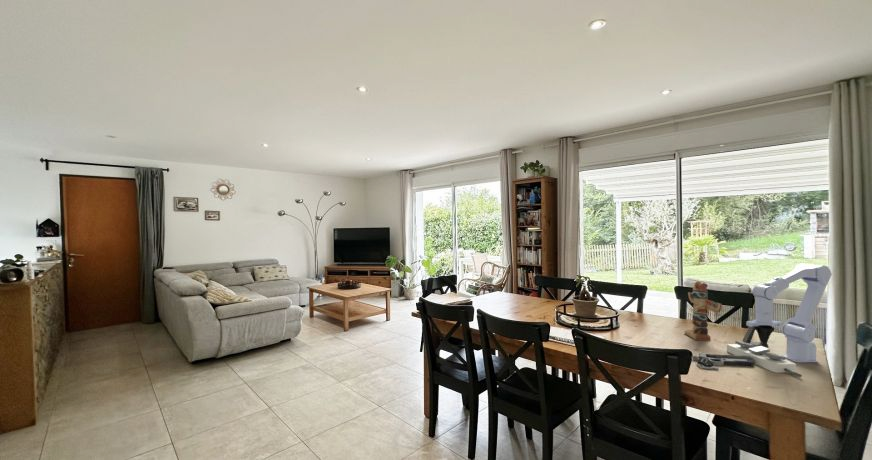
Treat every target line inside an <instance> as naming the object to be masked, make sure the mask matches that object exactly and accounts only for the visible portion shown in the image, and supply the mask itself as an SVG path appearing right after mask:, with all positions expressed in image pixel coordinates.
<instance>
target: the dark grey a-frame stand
mask: <svg viewBox="0 0 872 460" xmlns="http://www.w3.org/2000/svg"><path fill="white" fill-rule="evenodd" d="M753 320H754V319H751V320H750V321H753ZM755 331H756V329H755V328H754V326H752V327H749V326H748V328H747V331H746V332H745V334H744V337H743V339H742V342H745V343H749V344H751V345H754V346H755V347H758V346H763V347H765V348H769V344H768V342H767V343H764V342H761V341H760V338H759V335H758V334H757V335H758V339H759V342H758V341H752V340H753V339H752V338H753V337H754V334H755Z"/></svg>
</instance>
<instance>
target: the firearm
mask: <svg viewBox="0 0 872 460" xmlns="http://www.w3.org/2000/svg"><path fill="white" fill-rule="evenodd" d="M698 354H699V355H696V354H695V355H693V361H697V362H696V366H697V367H699V368H700V369H701V370H702V369H703V370H710V371H711V370H714V371H718V370H719V367H721V366H731V367H732V366H733V367H738V366H739V367H750V368H753V367H754V366H755V364H754V360H753V359H752V358H751V357H750V356H743V355H734V354H714V353H708V352H707V353H704V352H698ZM718 366H719V367H718Z"/></svg>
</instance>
